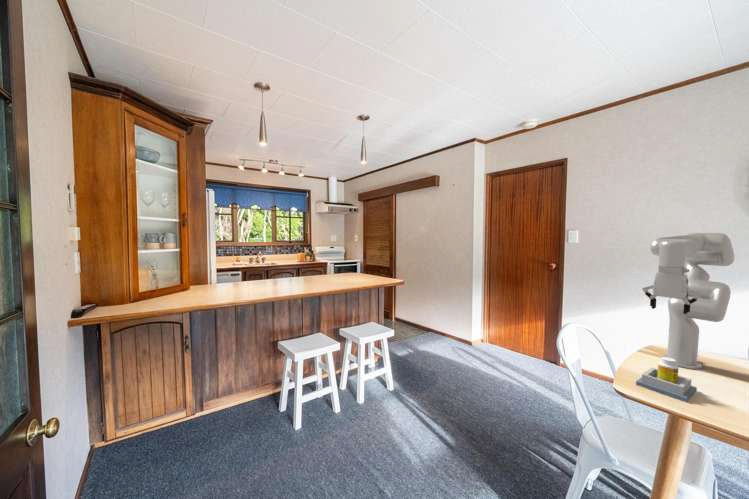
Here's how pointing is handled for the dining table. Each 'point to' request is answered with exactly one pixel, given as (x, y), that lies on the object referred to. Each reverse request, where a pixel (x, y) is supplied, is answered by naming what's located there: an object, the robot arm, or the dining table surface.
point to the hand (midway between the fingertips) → (669, 310)
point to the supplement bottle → (668, 370)
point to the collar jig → (667, 385)
